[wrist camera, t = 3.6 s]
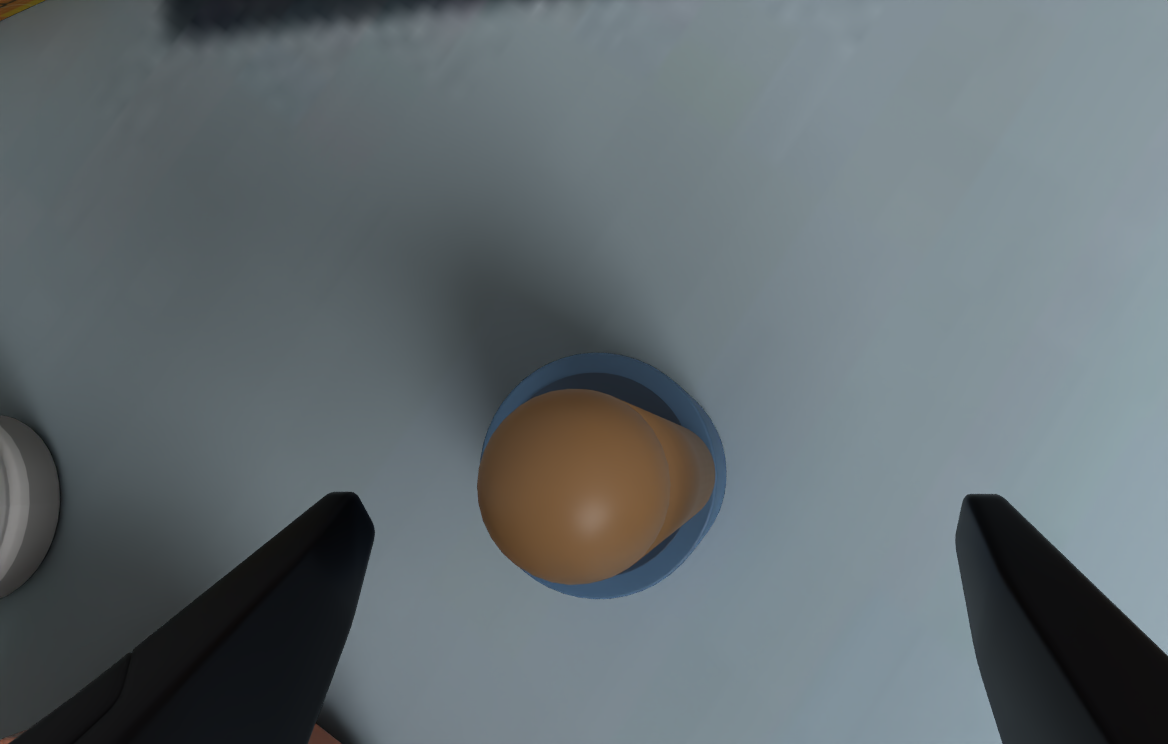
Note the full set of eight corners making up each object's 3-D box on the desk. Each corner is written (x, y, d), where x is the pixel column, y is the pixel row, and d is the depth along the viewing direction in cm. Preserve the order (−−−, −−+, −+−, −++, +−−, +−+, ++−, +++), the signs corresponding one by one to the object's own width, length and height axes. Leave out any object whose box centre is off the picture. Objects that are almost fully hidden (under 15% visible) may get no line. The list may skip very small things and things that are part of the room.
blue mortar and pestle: (723, 370, 18) (650, 200, 6) (729, 573, 18) (663, 807, 6) (534, 377, 20) (178, 246, 8) (534, 567, 19) (143, 751, 7)
